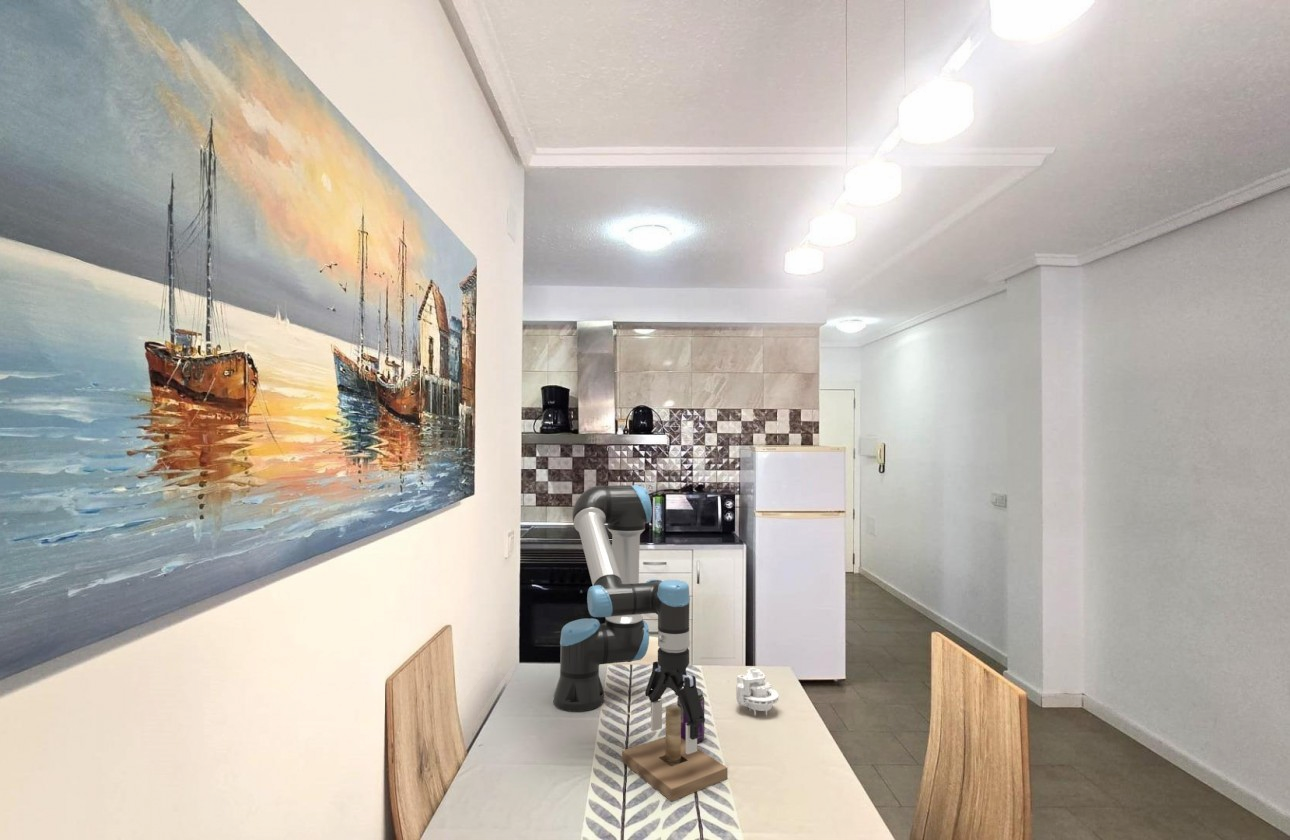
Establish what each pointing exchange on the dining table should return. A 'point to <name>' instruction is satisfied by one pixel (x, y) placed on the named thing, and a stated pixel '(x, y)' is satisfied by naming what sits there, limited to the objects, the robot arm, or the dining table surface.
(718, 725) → the dining table surface
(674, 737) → the peg
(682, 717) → the beverage can
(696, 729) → the robot arm
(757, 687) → the mechanical part
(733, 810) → the dining table surface
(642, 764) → the board
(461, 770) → the dining table surface
